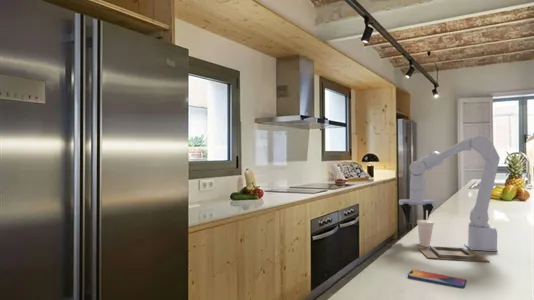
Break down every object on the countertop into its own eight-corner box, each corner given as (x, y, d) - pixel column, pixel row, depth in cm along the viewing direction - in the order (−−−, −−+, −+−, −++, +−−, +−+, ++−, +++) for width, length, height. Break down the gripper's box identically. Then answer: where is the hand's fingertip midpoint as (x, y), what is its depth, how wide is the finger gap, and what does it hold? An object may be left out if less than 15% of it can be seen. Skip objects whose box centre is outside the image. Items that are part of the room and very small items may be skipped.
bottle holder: (473, 251, 144) (473, 247, 144) (489, 262, 130) (489, 258, 130) (417, 248, 146) (418, 244, 146) (427, 258, 133) (427, 254, 133)
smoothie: (435, 248, 148) (436, 212, 148) (417, 246, 149) (418, 211, 149) (431, 244, 154) (432, 209, 154) (414, 242, 156) (415, 208, 156)
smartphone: (464, 290, 104) (464, 286, 104) (406, 278, 112) (407, 275, 112) (466, 283, 110) (466, 279, 110) (412, 272, 118) (412, 269, 118)
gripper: (429, 188, 165) (428, 220, 164) (396, 188, 164) (395, 219, 164) (437, 190, 157) (436, 223, 157) (403, 190, 157) (402, 223, 157)
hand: (416, 221), depth 160 cm, fingers open, 7 cm apart
